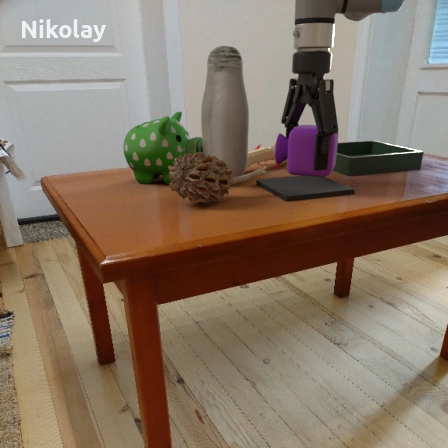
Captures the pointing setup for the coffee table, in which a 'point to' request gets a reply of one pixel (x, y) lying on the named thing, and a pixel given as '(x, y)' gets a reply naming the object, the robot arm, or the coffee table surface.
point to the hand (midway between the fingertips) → (304, 164)
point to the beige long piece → (261, 156)
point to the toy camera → (303, 151)
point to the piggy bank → (158, 147)
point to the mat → (304, 187)
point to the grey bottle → (225, 110)
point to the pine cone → (204, 177)
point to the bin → (375, 158)
